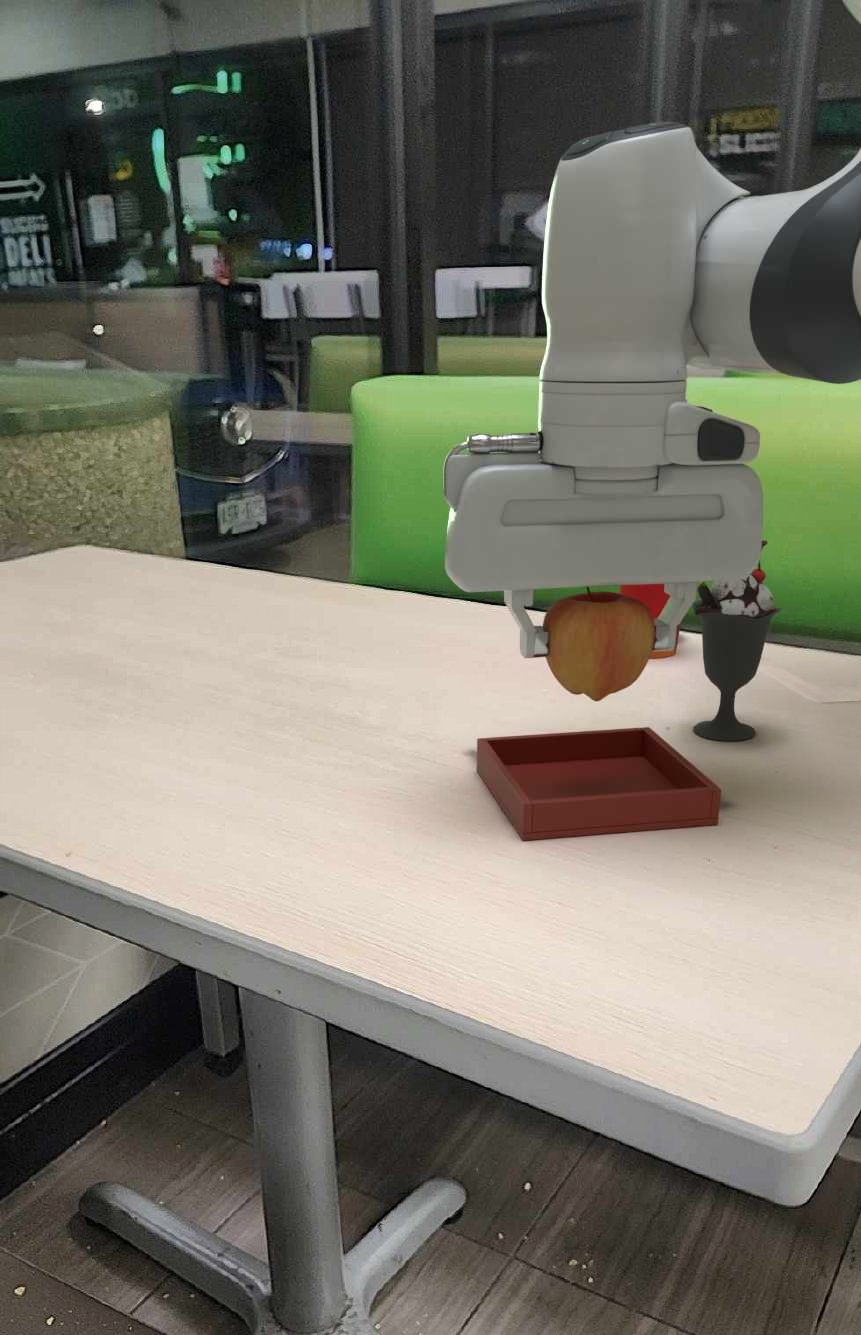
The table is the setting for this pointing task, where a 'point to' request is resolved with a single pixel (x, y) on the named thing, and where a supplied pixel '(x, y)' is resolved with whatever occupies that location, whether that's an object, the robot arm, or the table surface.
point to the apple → (598, 642)
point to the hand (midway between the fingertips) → (597, 652)
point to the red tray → (595, 783)
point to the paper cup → (652, 606)
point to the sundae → (733, 645)
